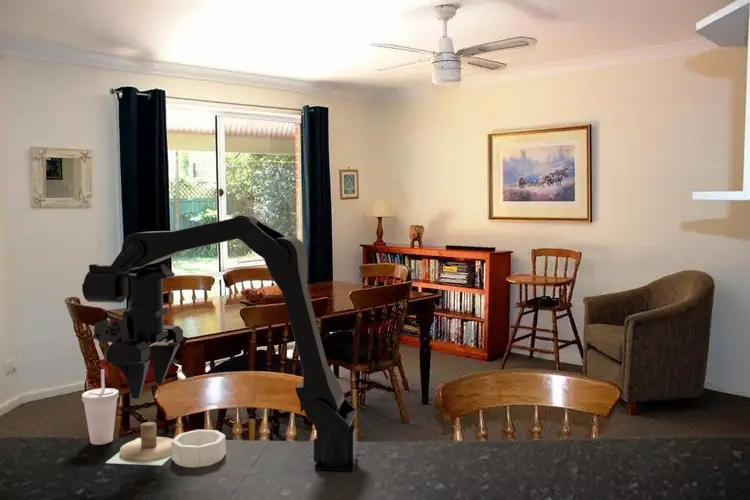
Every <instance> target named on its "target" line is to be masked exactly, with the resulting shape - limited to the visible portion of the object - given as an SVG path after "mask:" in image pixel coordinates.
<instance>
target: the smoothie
mask: <svg viewBox="0 0 750 500" xmlns="http://www.w3.org/2000/svg"><path fill="white" fill-rule="evenodd" d="M100 372H101V373H100V381H101V385H100V387H101V388H100V387H99V388H94V389H91V390H89V389H88V390H87V391H84V392H83V393H82V394H81V401H82V403H83V406H84V411H85V417H86V423H87V428H88V429H87V430H88V436H89V440H90V444H92V445H99V446H100V445H106V444H109V443H112V442H113V441H114V431H115V423H116V422H115V421H116V412H117V403H118V402H117V401H118V398H119V397H120V395H119V390H118V389H116V388H112V387H111V388H110V387H109V388H108V387H105V386H106V385H105V384H106V383H105V381H106V380H105V369H100Z"/></svg>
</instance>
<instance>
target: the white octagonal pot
mask: <svg viewBox="0 0 750 500" xmlns="http://www.w3.org/2000/svg"><path fill="white" fill-rule="evenodd" d="M172 439H173V440H172V456H171V459H172V461H173V463H175V465H178V466H179V467H184V468H202V467H208V466H211V465H214V464H217V463H219V462H220V461H222V460H223V459H224V457H225V455H226V454H227V453H226V452H227V447H226V445H227V443H226V441H227V440H226V434H224V433H222V432H220V431H219V430H217V429H216V430H215V429H194V430H190V431H186V432H181V433H179V434H178V435H176V436H175V437H174V438H172Z"/></svg>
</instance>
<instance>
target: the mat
mask: <svg viewBox="0 0 750 500" xmlns="http://www.w3.org/2000/svg"><path fill="white" fill-rule="evenodd" d="M137 439H141V437H137V438H135V439H134V440H137ZM171 458H172V454H171V455H169V456H167V457H164V458H160V459H156V460H151V461H130V460H126V459H123V458H122V457H121V456H120V451H119V452H117V453H116V454H114V455H113V456H112V457H111V458H110V459H108V460H107V461H106V462H105V464H112V465H113V464H114V465H116V464H117V465H118V464H119V465H135V466H136V465H141V466H161V467H162V466H163V465H164V464H165V463H166V462H168V460H170V459H171Z"/></svg>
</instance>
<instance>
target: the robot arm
mask: <svg viewBox="0 0 750 500" xmlns="http://www.w3.org/2000/svg"><path fill="white" fill-rule="evenodd" d="M234 240H240V241H241V242H242V243H244V244H245V245H246V246H247V247H248V248H249V249H251V251H252V252H254V253H255V254H256V255H258V256H260V257H261V258H263V260H264V263H265V265H266V267H267V269H268V271H269V274H270V276H271V278H272V280H273V281H274V283H275V284H276V286H277V287H278V289H279V291H280V292H281V293H282V297H283V301H284V304H285V308H286V313H287V314H288V315H287V316H288V320H289V322H290V328H291V332H292V335H293V339H294V343H295V345H296V349H297V354H298V357H299V362H300V365H301V369H302V374H303V376H302V377H303V379H302V380H301V381H300V382H299V384H298V385H297V386H296V387H295V393H296V395H297V397H298V400H299V403H300V410H299V411H300V412H301V413H302V412H303V411H304V416H305V418H306V419H307V421H310V422H312V423H313V426H314V429H315V431H316V434H315V436H314V437H313V462H314V463H315V465H314V470H317V471H318V470H319V471H341V472H352V471H354V470H355V469H354V468H355V465H356V463H357V459H358V454H356V445H357V443H356V442H357V441H356V433H357V431H356V425H352V423H353V422H354V420H355V417H356V415H357V412H358V411H357V410H358V409H357V408H355V407H354V406H353V405H352V404H351V402H349V401H348V400H347V399H346V398H345V393H344V391H343V388H342V387H341V386H342V385H341V384H340V382H339V380H338V376H336V374H335V373H334V371H332V369H331V367H330V366H329V363H328V360H327V357H326V354H325V353H326V352H325V350H324V346H323V341H322V339H321V338H322V337H321V335H320V330H319V327H318V323H317V320H316V315H315V312H314V311H315V310H314V308H313V304H312V301H311V296H310V293H309V289H308V271H309V270H308V267H309V266H308V257H307V256H308V255H307V247H306V245H305V244H304V242H303V241H302V240H300V239H298V238H297V237H296V236H295V237H294V236H285V235H284V234H282V233H281V232H280V231H278V230H275V229H274V228H272V227H270V226H269V225H267V224H265V223H263V222H261V221H259V220H258V219H257V218H255V217H254V216H253V215H252V214H243V215H236V216H234V217H233V218H228V219H223V220H219V221H215V222H210V223H206V224H201V225H197V226H191V227H187V228H184V229H183V228H182V229H179V230H178V229H177V230H163V231H162V230H161V231H160V230H157V231H156V230H155V231H153V230H152V231H142V232H134V233H131V234H128V235H127V236H126V237H125V238H124V241H123V242H122V245H121V250H120V252H119V253H118V255H117V256H116V258H115V259H114V260H113V262H112V263H111V264H104V263H93V264H89V265H88V272H87V273H86V275H85V277H84V278H83V279H84V280H83V283H82V285H81V287H82V288H81V290H82V295H83V297H84V300H85V301H87V302H88V303H107V304H108V303H113V304H114V303H115V304H119V303H120V304H121V303H123V302H124V301H125V300H126V299H127V298H128V309H126V310H124V311H123V312H122V319H119V320H117V321H114V322H110V320H109V319H106V318H105V319H104V320H101V321H98V322H95V323H94V326H93V327H94V328H93V335H92V338H93V339H94V340H96V341H98V342H100V346H105V345H107V344H108V343H111V344H109V345H108V346H107V348H105V349H104V362H105V363H109V364H110V366H115V367H116V368H118V369H119V370H120V371H121V373H122V375H123V377H124V379H125V382H126V384H127V387H128V390H129V393H130V395H131V398H132V399H135V400H137V399H140V397H141V394H142V391H143V387H144V385H145V380H146V377H147V374H148V370H149V366H150V364H151V362H152V369H153V377H154V381H155V384H157V385H161V384H163V382H164V380H165V377H166V375H167V373H168V371H169V368H170V366H171V365H172V361H173V359H174V357H175V355H176V353H177V351H178V349H179V347H180V346H181V343H180V342H182V341H183V340H184V330H183V329H182V328H181V327H180V326H179V325H171V324H170V325H169V324H168V325H167V324H166V325H164V315H165V314H168V307H166V306H164V291H163V290H164V289H163V288H164V286H163V283H164V282H163V280H167V279H170V278H173V277H175V276H176V275H175V273H174V272H173V271H172V270H171V269H170V268H168V267H167V265H166V264H165V263H162V264H158V265H157V267H154V268H153V267H151V268H149V267H147V268H145V267H146V266H148V265H153V264H156V263H159V262H162V261H165V260H167V259H169V258H172V257H175V256H176V255H178V254H180V253H182V252H184V251H189V250H193V249H198V248H202V247H207V246H211V245H216V244H220V243H225V242H230V241H234ZM137 269H139V270H138V271H137V272H136V273H135V272H134V273H132V272H131V273H130V271H133V270H137ZM119 339H121V340H119ZM117 340H118V341H117ZM114 341H116V342H114ZM112 342H114V343H112ZM150 355H151V358H150V359H149V357H150ZM151 360H152V361H151Z"/></svg>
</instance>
